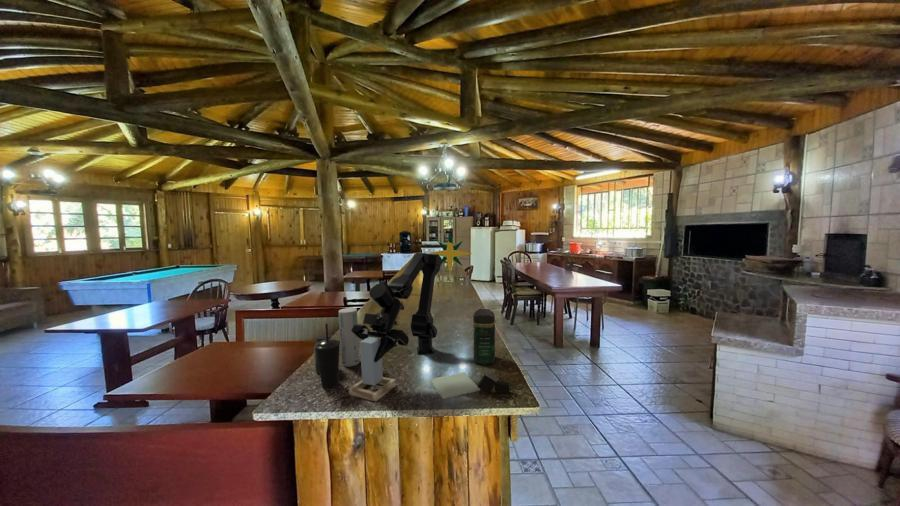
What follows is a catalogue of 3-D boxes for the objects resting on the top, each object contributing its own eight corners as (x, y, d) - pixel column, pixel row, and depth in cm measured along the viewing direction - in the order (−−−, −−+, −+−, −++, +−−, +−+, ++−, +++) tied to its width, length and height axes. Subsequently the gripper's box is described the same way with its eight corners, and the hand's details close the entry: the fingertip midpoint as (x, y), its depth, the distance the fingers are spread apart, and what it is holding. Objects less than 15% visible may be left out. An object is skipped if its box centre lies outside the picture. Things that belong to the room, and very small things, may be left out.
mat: (430, 381, 107) (430, 379, 107) (464, 374, 111) (464, 372, 111) (442, 399, 95) (442, 397, 95) (480, 390, 100) (480, 388, 100)
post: (371, 376, 104) (369, 336, 103) (382, 379, 102) (380, 338, 101) (362, 383, 100) (360, 341, 99) (374, 385, 98) (371, 343, 97)
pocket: (370, 380, 108) (370, 374, 108) (395, 385, 104) (395, 379, 104) (349, 394, 99) (348, 388, 99) (376, 401, 95) (375, 394, 95)
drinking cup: (327, 393, 100) (323, 329, 99) (312, 387, 104) (308, 325, 103) (347, 382, 107) (344, 322, 105) (332, 377, 111) (328, 319, 109)
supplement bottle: (339, 366, 119) (338, 334, 118) (327, 375, 113) (325, 341, 111) (324, 364, 121) (322, 332, 120) (310, 372, 115) (308, 339, 114)
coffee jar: (495, 365, 117) (495, 314, 115) (473, 365, 118) (472, 314, 116) (495, 354, 126) (494, 307, 124) (474, 354, 127) (473, 307, 125)
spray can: (359, 365, 120) (356, 311, 118) (340, 367, 118) (337, 313, 116) (359, 358, 126) (357, 307, 124) (342, 360, 124) (339, 308, 122)
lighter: (501, 398, 100) (511, 383, 100) (502, 402, 98) (513, 386, 97) (477, 383, 100) (487, 368, 99) (477, 387, 98) (487, 371, 97)
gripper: (353, 299, 107) (329, 344, 98) (402, 304, 99) (381, 353, 90) (370, 316, 114) (349, 360, 106) (416, 322, 107) (399, 369, 98)
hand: (368, 360), depth 99 cm, fingers closed on post, 4 cm apart
